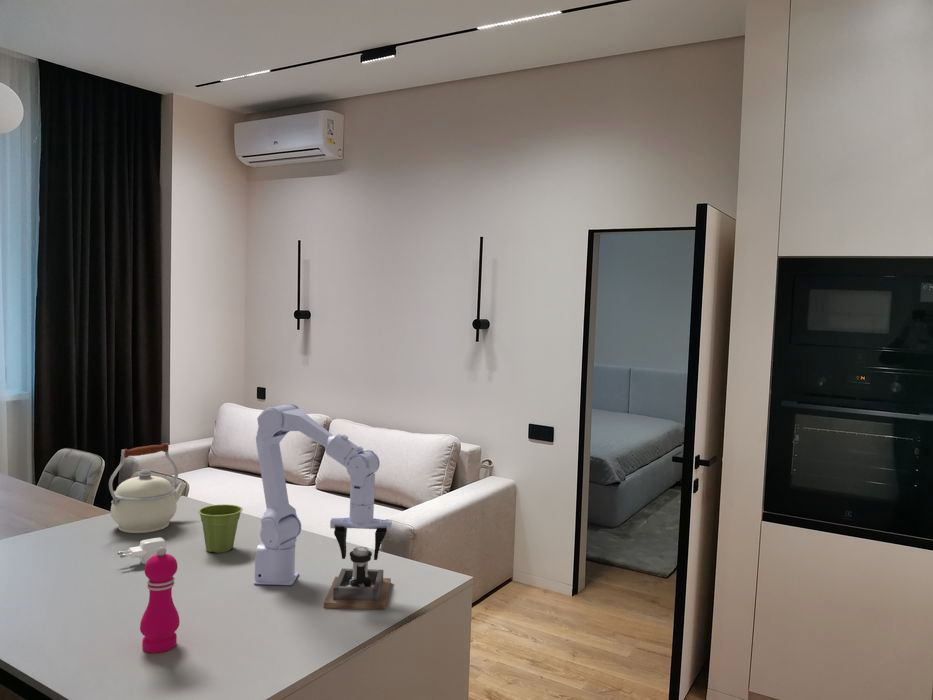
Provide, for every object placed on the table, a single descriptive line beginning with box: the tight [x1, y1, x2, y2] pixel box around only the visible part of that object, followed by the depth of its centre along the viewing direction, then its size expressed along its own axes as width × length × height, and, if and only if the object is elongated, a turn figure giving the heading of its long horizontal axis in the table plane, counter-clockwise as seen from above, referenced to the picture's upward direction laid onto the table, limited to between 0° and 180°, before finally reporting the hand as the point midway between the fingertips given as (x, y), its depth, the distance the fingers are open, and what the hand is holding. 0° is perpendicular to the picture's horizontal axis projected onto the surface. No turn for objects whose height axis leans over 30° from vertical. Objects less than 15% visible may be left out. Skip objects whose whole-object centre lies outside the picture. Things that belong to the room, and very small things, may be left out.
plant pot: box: [197, 504, 243, 554], centre depth 194 cm, size 12×12×11 cm
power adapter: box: [117, 537, 167, 566], centre depth 181 cm, size 11×5×6 cm, turn 129°
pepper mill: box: [139, 547, 180, 654], centre depth 137 cm, size 7×7×20 cm
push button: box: [348, 546, 373, 587], centre depth 165 cm, size 7×5×10 cm
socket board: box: [323, 568, 392, 610], centre depth 166 cm, size 14×16×4 cm
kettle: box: [108, 442, 187, 534], centre depth 212 cm, size 25×18×25 cm
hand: (359, 558), depth 166 cm, fingers open, 7 cm apart
